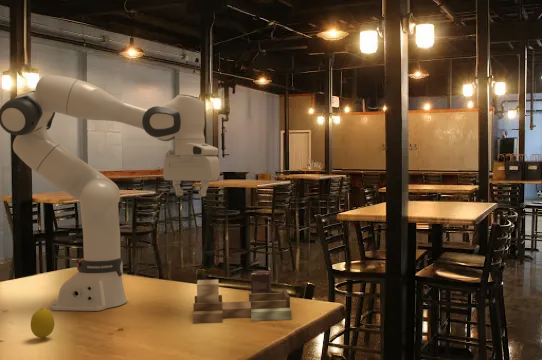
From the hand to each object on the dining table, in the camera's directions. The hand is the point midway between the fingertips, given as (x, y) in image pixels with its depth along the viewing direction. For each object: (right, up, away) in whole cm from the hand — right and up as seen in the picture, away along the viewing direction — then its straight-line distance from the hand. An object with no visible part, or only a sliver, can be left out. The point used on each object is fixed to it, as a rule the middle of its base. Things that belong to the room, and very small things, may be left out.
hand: (190, 195), depth 171 cm
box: (+21, -33, +18) cm, 43 cm away
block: (+6, -32, -7) cm, 33 cm away
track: (+15, -34, -6) cm, 38 cm away
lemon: (-33, -36, -27) cm, 56 cm away
